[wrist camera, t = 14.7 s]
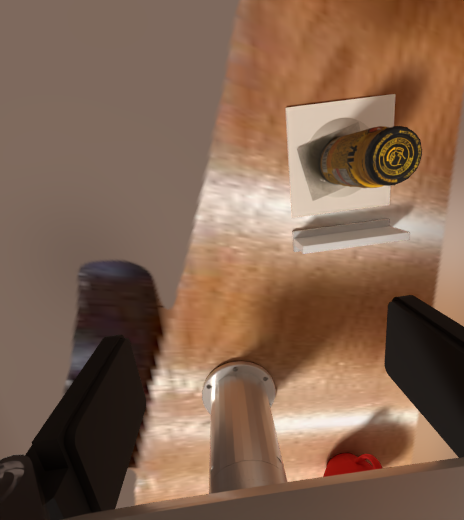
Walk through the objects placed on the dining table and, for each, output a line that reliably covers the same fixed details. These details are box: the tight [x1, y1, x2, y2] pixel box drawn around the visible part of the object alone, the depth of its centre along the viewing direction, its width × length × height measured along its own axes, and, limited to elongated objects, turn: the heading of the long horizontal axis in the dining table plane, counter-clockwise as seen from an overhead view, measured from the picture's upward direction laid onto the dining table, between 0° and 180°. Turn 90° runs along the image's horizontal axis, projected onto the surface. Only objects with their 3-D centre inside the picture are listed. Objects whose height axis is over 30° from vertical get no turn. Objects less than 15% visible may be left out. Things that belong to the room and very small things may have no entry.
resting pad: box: [285, 94, 395, 218], centre depth 37 cm, size 14×14×1 cm
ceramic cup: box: [323, 453, 382, 477], centre depth 49 cm, size 13×17×10 cm
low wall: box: [292, 219, 410, 254], centre depth 38 cm, size 3×14×5 cm, turn 97°
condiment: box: [297, 122, 422, 201], centre depth 31 cm, size 7×8×12 cm
